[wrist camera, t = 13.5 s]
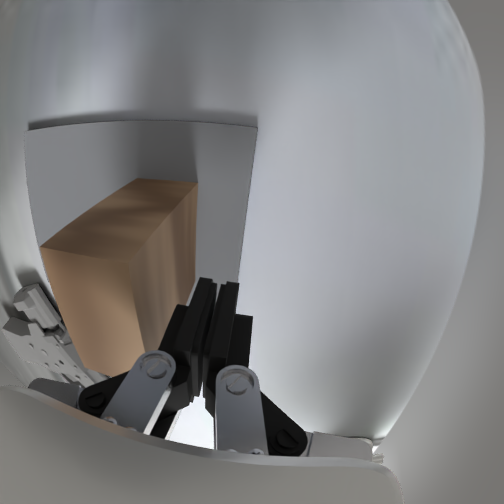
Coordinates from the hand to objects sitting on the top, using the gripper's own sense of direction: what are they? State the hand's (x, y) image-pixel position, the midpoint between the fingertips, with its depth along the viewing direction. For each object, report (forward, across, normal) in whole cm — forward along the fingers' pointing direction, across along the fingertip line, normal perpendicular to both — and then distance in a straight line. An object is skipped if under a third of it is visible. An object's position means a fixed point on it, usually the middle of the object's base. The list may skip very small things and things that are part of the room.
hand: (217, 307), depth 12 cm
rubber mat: (+7, +8, 0) cm, 11 cm away
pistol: (+8, +22, +20) cm, 31 cm away
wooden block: (+6, +4, 0) cm, 8 cm away
